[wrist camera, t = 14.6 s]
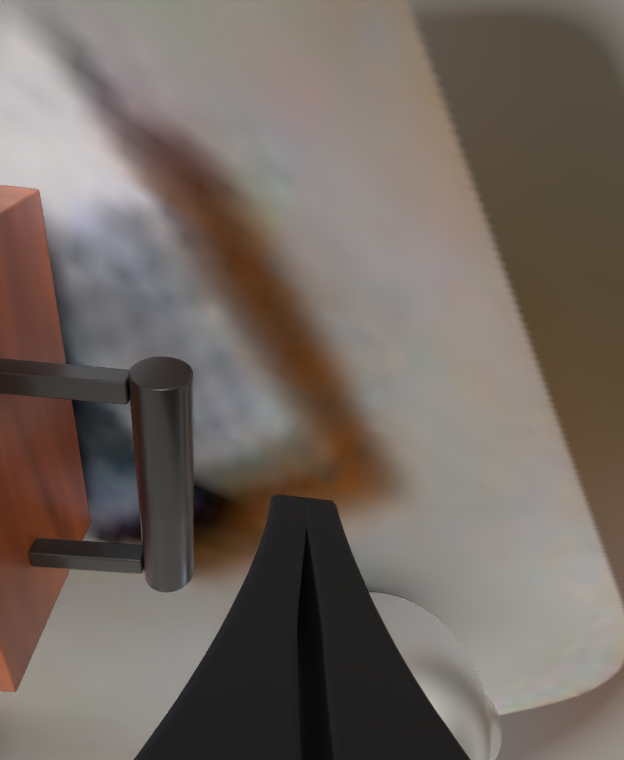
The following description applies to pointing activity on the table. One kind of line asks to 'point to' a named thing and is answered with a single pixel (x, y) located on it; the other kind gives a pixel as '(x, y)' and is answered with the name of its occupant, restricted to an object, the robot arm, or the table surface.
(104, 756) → the table surface
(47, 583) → the drawer
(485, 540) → the table surface
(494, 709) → the silver metal pot
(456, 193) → the table surface
